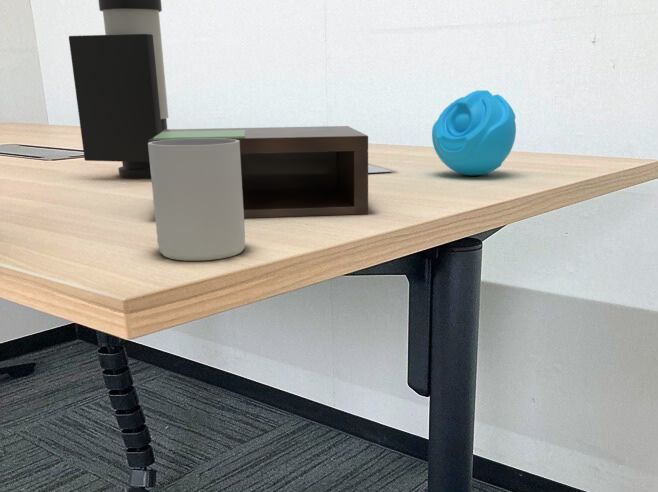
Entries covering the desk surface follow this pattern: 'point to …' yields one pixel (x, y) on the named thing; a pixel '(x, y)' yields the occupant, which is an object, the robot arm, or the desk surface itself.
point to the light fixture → (121, 85)
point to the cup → (197, 198)
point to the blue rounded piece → (475, 133)
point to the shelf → (296, 168)
